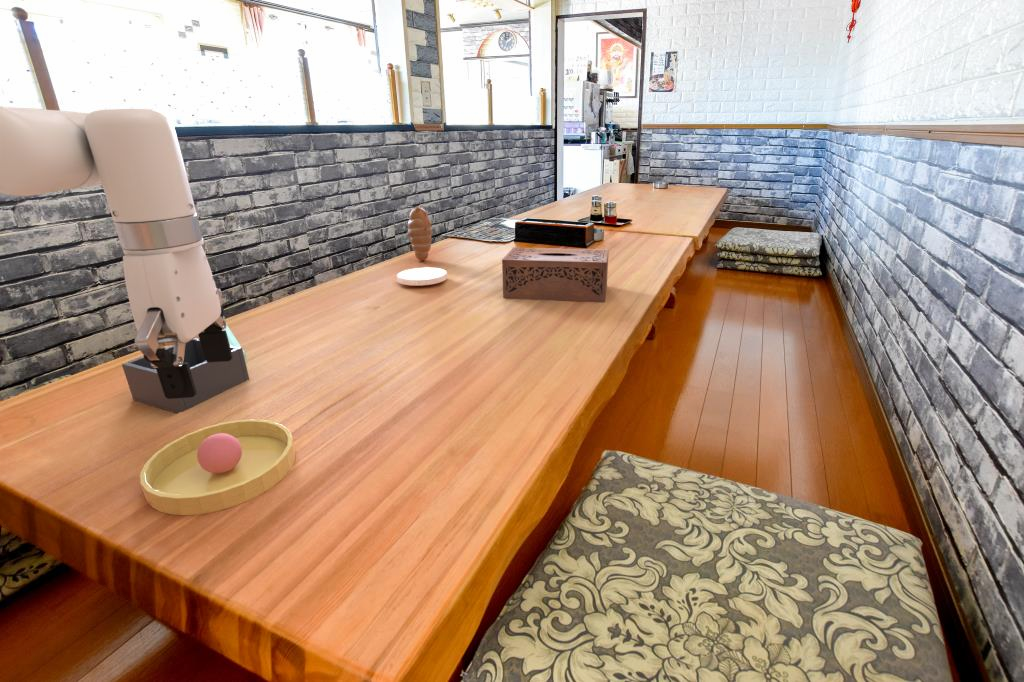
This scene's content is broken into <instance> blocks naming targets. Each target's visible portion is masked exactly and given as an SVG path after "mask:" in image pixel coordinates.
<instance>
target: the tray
mask: <svg viewBox="0 0 1024 682" xmlns="http://www.w3.org/2000/svg"><path fill="white" fill-rule="evenodd" d="M219 433H224V434H229V435H231V436H233V437H235V438H236V439H237V440H238V441H239V443H240V444H241V448H242V456H241V459H240V461H239V462H238V464H237V465H236V466H235V467H234V468H233V469H231V470H229V471H227V472H225V473H218V474H216V473H210V472H208V471H206V470H204V469H203V468H202V467H201V466H200V464H199V462H198V459H197V452H198V448H199V446H200V445H201V443H202V442H203V441H204V440H205V439H206V438H208V437H209V436H212V435H214V434H219ZM295 461H296V447H295V442H294V437H293V435H292V433H291V431H290V429H289V428H288V427H286V426H285V425H284V424H281V423H279V422H275V421H272V420H267V419H257V418H251V419H250V418H249V419H237V420H231V421H225V422H224V421H223V422H220V423H216V424H212V425H209V426H205V427H201V428H199V429H196V430H194V431H192V432H189V433H186V434H184V435H182V436H180V437H178V438H177V439H175V440H172V441H171V442H169V443H167V444H165V446H163V447H161V448H160V449H159V450H157V451H155V453H153V455H152V456H150V458H148V460H147V461H146V462H145V463H144V465H143V467H142V469H141V470H140V472H139V483H140V487H141V490H142V492H143V496H144V498H145V501H146V502H147V504H148V505H149V506H150V507H151V508H152V509H154V510H156V511H158V512H159V513H164V514H167V515H171V516H172V515H173V516H197V515H207V514H211V513H216V512H219V511H224V510H227V509H230V508H234V507H236V506H239V505H241V504H244V503H246V502H249V501H251V500H253V499H255V498H257V497H259V496H260V495H262V494H264V493H266V492H267V491H268V490H270V489H271V488H273V487H274V486H276V485H277V484H278V483H280V482H281V481H282V480H283V479H284V478H285V477H286V476H287V475H288V473H289V472H290V471H291V469H292V468H293V466H294V463H295Z"/></svg>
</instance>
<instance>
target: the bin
mask: <svg viewBox="0 0 1024 682" xmlns="http://www.w3.org/2000/svg"><path fill="white" fill-rule="evenodd" d="M241 347H242V346H241ZM241 347H236V346H231V345H230V348H231V352H232V356H233V358H232V359H231V360H230V361H223V362H206V360H205V357H204V354H203V350H202V347H201V343H200V339H199V337H194V338H193V339H191V340H190V341H188V342H186V344H185V353H184V361H183V363H187V362H188V363H189V367H190V370H191V374H192V377H193V380H194V384H195V387H196V391H197V394H196V395H195V396H194V397H189V398H174V399H168V398H166V397H165V395H164V392H163V389H162V386H161V383H160V379H159V376H158V373H157V370H156V368H153V367H152V366H151V363H150V362H148V361H146V360H145V358H144V355H142V356H140V357H136V358H134V359H132V360H129V361H126V362H123V363H121V366H122V369H123V372H124V376H125V379H126V381H127V385H128V388H129V391H130V394H131V396H132V400H133V401H135V402H138V403H142V404H145V405H148V406H151V407H155V408H158V409H161V410H165V411H167V412H170V413H175V414H179V413H183V412H185V411H187V410H189V409H192V408H194V407H196V406H198V405H199V404H203V403H204V402H206V401H209V400H210V399H213V398H214V397H216V396H219V395H220V394H223V393H225V392H227V391H228V390H231V389H232V388H235V387H236V386H239V385H241V384H243V383H245V382H247V381H250V376H249V371H248V367H247V363H245V358H244V354H243V350H244V349H243V347H242V348H241ZM164 349H166V350H167V351H169V352H170V353H172V354H173V349H174V345H171V346H166V347H164ZM242 349H243V350H242Z"/></svg>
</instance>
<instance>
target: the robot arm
mask: <svg viewBox="0 0 1024 682" xmlns="http://www.w3.org/2000/svg"><path fill="white" fill-rule="evenodd" d="M177 135H178V134H177V132H176V129H175V126H174V123H173V121H172V120H171V118H170V117H169V116H168V115H167V114H165V112H162V111H160V110H157V109H148V108H115V109H112V108H111V109H109V108H108V109H98V110H94V111H91V112H89V113H87V112H78V111H69V110H59V109H58V110H57V109H44V108H30V107H9V106H8V107H7V106H6V107H5V106H2V105H0V194H3V195H8V196H16V197H31V196H38V195H45V194H49V193H56V192H61V191H69V190H75V189H82V188H86V187H92V186H97V185H101V186H102V189H103V192H104V196H105V198H106V202H107V205H108V208H109V211H110V214H111V217H112V220H113V223H114V224H113V225H114V227H115V230H116V233H117V237H118V239H119V243H120V246H121V249H122V252H123V254H124V255H123V256H122V264H123V265H122V267H123V274H124V282H125V288H126V292H127V297H128V301H129V306H130V310H131V314H132V318H133V321H134V325H135V328H136V332H137V334H136V336H135V338H134V345H135V346H136V348H137V349H138V350H139V352H141V354H142V356H144V358H145V360H146V361H148V362H150V363H151V366H152V367H153V368H156V370H157V373H158V376H159V379H160V383H161V386H162V389H163V392H164V395H165V397H166V398H168V399H174V398H189V397H194V396H195V395H196V394H197V391H196V387H195V384H194V380H193V377H192V374H191V370H190V367H189V363H188V362H187V363H183V361H184V353H185V344H186V342H188V341H190V340H191V339H193V338H196V337H197V336H198V339H200V343H201V347H202V350H203V354H204V357H205V360H206V362H223V361H230V360H231V359H232V358H233V356H232V352H231V348H230V344H229V341H228V337H227V333H226V330H225V329H226V324H227V321H226V319H225V320H224V319H223V316H224V315H225V308H224V305H223V292H222V289H220V288H218V287H217V285H216V281H215V279H214V278H215V277H214V275H213V272H212V269H211V266H210V263H209V260H208V258H207V255H206V252H205V250H204V247H203V246H204V244H205V241H204V237H203V234H202V230H201V225H200V221H199V218H198V217H199V216H198V214H197V209H196V206H195V202H194V198H193V193H192V190H191V186H190V183H189V178H188V174H187V171H186V170H187V169H186V166H185V162H184V158H183V155H182V150H181V147H180V143H179V139H178V136H177ZM225 321H226V322H225ZM222 330H224V331H222ZM202 331H204V332H202ZM172 345H174V349H173V354H172V353H170V352H169V351H167V350H166V349H164V348H165V347H169V346H172Z"/></svg>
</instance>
